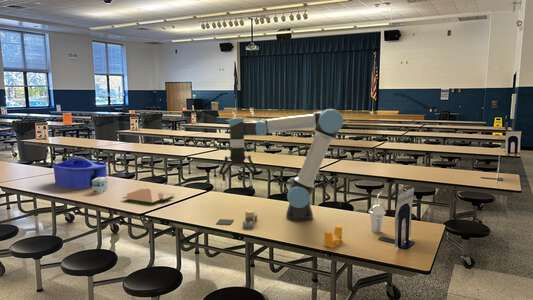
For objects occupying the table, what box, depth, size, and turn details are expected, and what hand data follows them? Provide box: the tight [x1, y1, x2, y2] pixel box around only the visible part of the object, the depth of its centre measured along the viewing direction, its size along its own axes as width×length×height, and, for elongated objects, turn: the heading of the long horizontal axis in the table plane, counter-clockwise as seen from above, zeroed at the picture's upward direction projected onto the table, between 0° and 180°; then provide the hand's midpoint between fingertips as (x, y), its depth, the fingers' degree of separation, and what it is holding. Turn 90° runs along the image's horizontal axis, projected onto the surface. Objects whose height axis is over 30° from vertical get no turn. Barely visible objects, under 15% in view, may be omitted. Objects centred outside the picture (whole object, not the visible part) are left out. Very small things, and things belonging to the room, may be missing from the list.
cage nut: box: [244, 209, 256, 224], centre depth 202 cm, size 4×6×7 cm
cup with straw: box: [368, 190, 387, 234], centre depth 190 cm, size 8×9×20 cm
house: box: [122, 188, 176, 205], centre depth 251 cm, size 23×33×8 cm
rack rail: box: [242, 213, 258, 229], centre depth 202 cm, size 5×16×4 cm, turn 172°
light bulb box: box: [91, 176, 109, 195], centre depth 270 cm, size 11×7×11 cm, turn 179°
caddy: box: [51, 155, 108, 190], centre depth 294 cm, size 32×45×23 cm
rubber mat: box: [215, 218, 234, 226], centre depth 205 cm, size 8×8×1 cm
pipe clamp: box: [323, 225, 343, 249], centre depth 175 cm, size 12×4×6 cm, turn 141°
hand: (238, 186), depth 201 cm, fingers open, 13 cm apart
